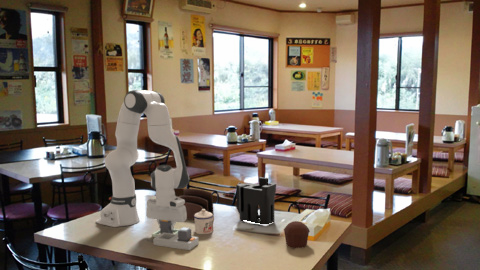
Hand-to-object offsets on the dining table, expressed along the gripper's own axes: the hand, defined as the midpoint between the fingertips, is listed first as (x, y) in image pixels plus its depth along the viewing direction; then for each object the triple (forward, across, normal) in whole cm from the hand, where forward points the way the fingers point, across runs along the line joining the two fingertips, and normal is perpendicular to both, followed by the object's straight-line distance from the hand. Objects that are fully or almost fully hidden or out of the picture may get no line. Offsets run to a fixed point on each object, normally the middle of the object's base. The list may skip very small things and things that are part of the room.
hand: (166, 229), depth 205 cm
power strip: (+3, +8, -10) cm, 13 cm away
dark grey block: (+2, +16, -10) cm, 19 cm away
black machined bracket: (+4, +32, +35) cm, 48 cm away
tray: (+3, 0, 0) cm, 3 cm away
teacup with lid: (+4, +15, +11) cm, 19 cm away
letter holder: (+4, -3, +32) cm, 32 cm away
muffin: (+4, +60, +10) cm, 61 cm away
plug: (+3, 0, 0) cm, 3 cm away
